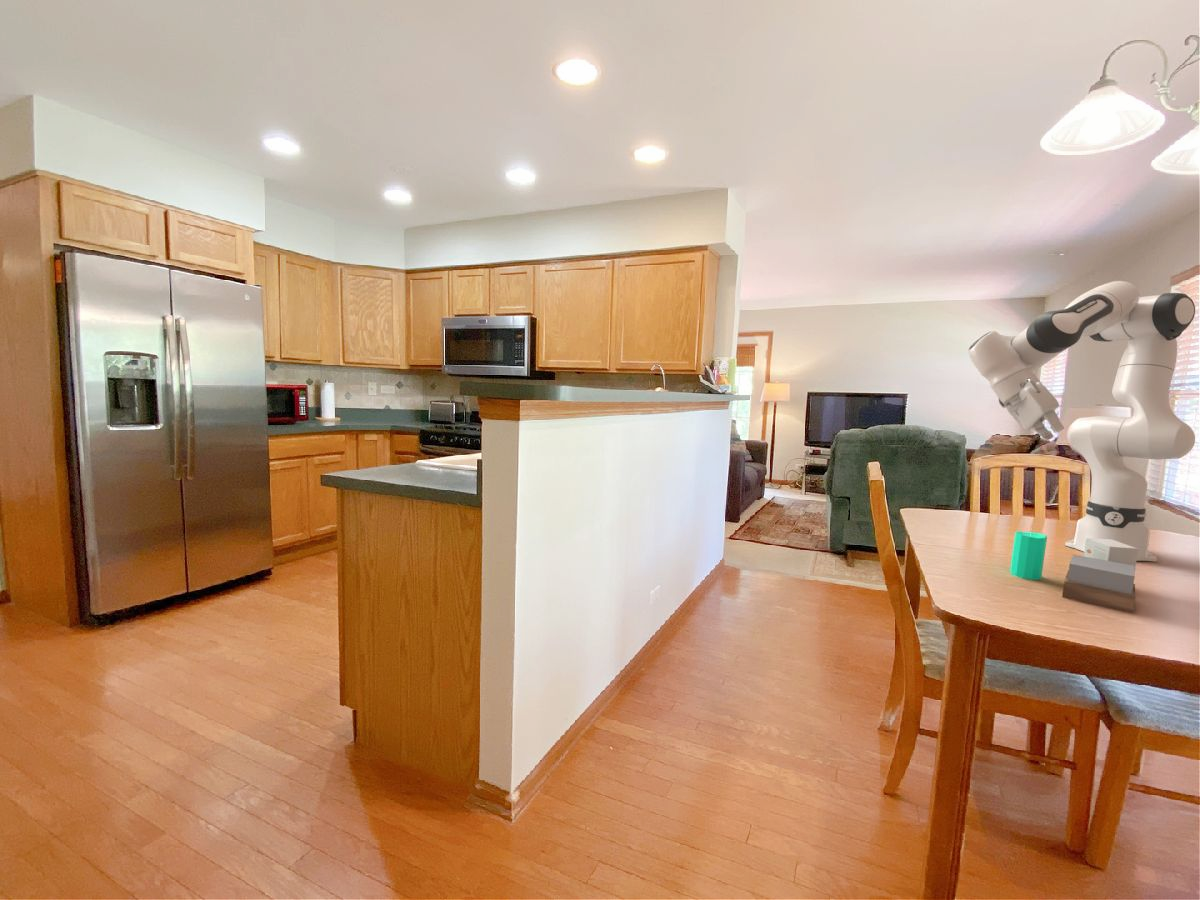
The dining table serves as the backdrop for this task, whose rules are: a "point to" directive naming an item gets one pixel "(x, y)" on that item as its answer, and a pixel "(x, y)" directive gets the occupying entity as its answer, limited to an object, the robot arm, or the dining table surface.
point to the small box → (1110, 551)
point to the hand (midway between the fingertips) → (1054, 435)
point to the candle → (1028, 555)
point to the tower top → (1102, 574)
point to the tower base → (1099, 596)
